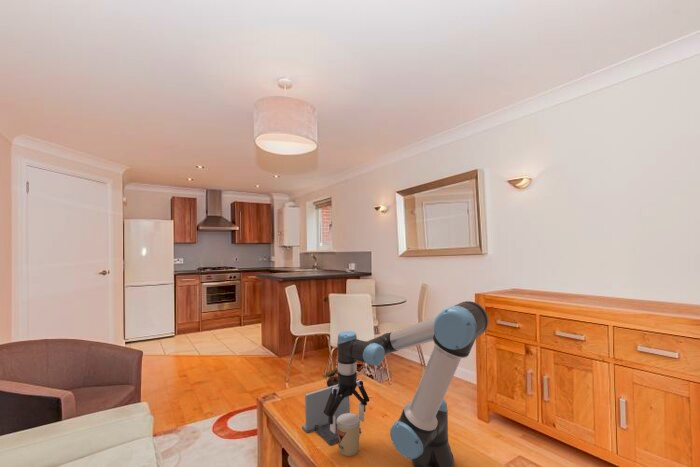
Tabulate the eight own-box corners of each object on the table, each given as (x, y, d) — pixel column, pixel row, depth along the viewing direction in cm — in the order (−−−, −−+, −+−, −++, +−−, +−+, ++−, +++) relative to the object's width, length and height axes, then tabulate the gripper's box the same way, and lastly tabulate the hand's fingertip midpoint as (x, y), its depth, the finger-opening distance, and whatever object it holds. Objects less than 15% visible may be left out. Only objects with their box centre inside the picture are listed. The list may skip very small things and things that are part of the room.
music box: (334, 417, 156) (330, 373, 157) (318, 412, 163) (315, 369, 165) (356, 405, 167) (352, 364, 169) (340, 400, 174) (337, 361, 176)
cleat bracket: (360, 433, 143) (360, 428, 143) (330, 445, 134) (330, 440, 134) (343, 419, 154) (343, 415, 154) (314, 430, 146) (314, 425, 146)
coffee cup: (334, 445, 135) (333, 415, 135) (356, 440, 137) (355, 411, 138) (340, 459, 126) (340, 427, 126) (364, 454, 128) (363, 422, 129)
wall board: (349, 417, 156) (349, 382, 156) (307, 433, 144) (306, 395, 144) (343, 412, 160) (343, 378, 160) (302, 428, 148) (301, 391, 148)
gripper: (366, 362, 142) (367, 412, 142) (314, 376, 128) (315, 431, 128) (377, 367, 136) (378, 420, 136) (324, 382, 122) (324, 441, 122)
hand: (347, 425), depth 132 cm, fingers open, 13 cm apart
